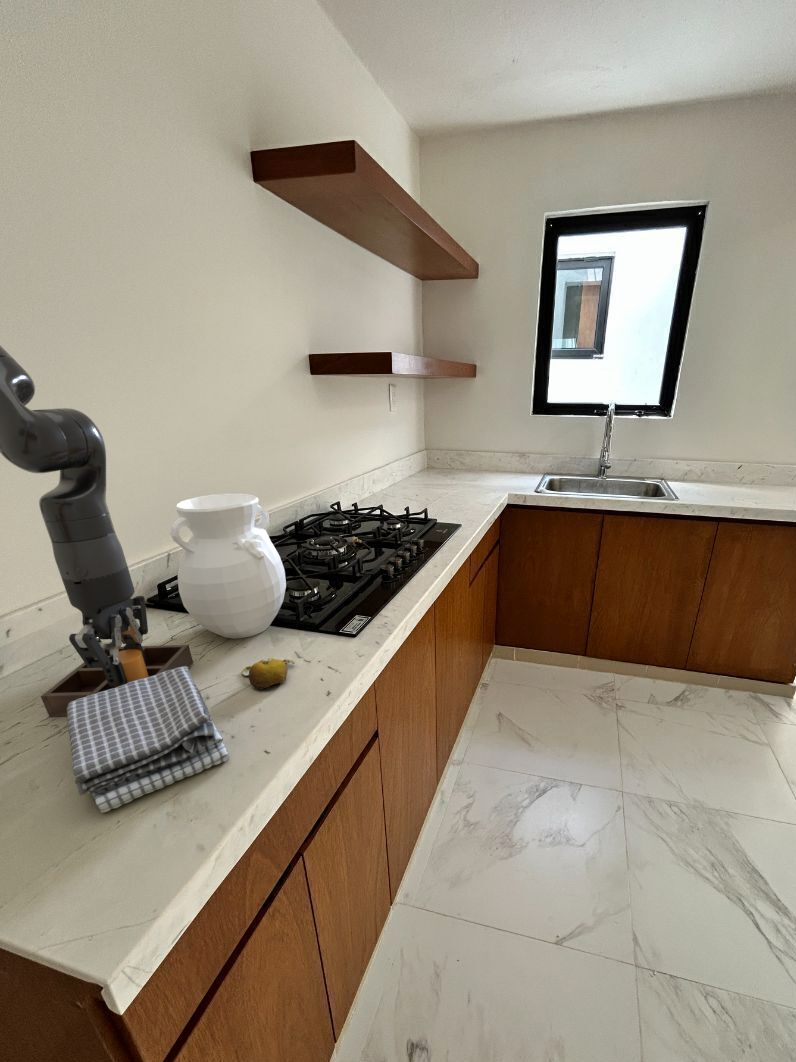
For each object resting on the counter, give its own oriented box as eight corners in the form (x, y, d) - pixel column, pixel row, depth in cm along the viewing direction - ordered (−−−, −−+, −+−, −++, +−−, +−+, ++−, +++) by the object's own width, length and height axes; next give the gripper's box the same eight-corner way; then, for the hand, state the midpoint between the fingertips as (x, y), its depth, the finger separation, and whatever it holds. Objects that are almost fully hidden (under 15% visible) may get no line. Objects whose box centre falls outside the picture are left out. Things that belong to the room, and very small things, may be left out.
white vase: (265, 600, 110) (244, 486, 100) (310, 625, 98) (291, 498, 88) (176, 629, 98) (141, 502, 88) (215, 661, 86) (180, 519, 76)
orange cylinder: (105, 689, 72) (97, 665, 71) (124, 672, 76) (116, 649, 75) (137, 688, 72) (130, 664, 71) (154, 671, 76) (147, 648, 75)
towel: (198, 698, 76) (186, 653, 72) (233, 765, 62) (220, 713, 59) (78, 739, 67) (58, 690, 64) (87, 826, 54) (63, 770, 51)
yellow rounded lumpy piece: (293, 660, 85) (290, 641, 84) (298, 685, 78) (295, 665, 77) (241, 670, 83) (237, 651, 81) (242, 697, 76) (237, 676, 74)
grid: (49, 717, 72) (40, 696, 71) (109, 665, 85) (102, 646, 84) (149, 714, 72) (142, 693, 71) (193, 662, 85) (188, 644, 84)
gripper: (99, 551, 74) (130, 652, 81) (25, 588, 61) (71, 705, 67) (150, 550, 74) (177, 651, 81) (88, 586, 61) (127, 703, 68)
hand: (128, 675), depth 74 cm, fingers closed on orange cylinder, 4 cm apart
